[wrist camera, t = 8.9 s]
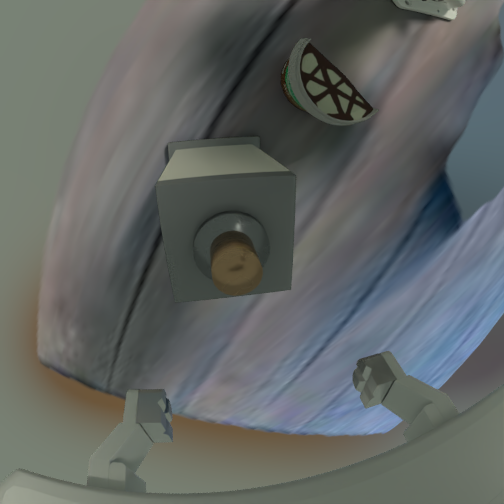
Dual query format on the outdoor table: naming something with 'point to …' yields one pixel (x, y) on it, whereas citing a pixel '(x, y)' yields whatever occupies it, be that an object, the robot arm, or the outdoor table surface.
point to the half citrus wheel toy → (322, 88)
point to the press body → (224, 208)
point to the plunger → (232, 251)
